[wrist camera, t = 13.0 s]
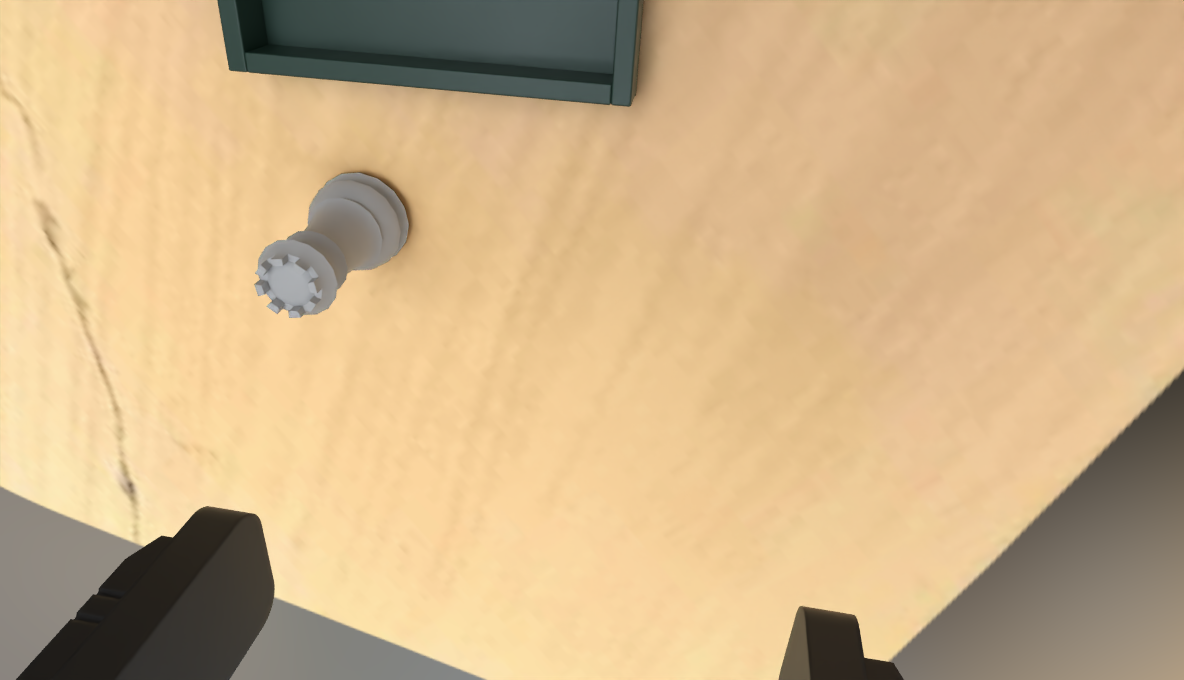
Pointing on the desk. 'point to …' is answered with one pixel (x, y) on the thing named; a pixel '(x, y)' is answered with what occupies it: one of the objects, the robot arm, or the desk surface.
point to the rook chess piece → (333, 244)
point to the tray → (445, 44)
